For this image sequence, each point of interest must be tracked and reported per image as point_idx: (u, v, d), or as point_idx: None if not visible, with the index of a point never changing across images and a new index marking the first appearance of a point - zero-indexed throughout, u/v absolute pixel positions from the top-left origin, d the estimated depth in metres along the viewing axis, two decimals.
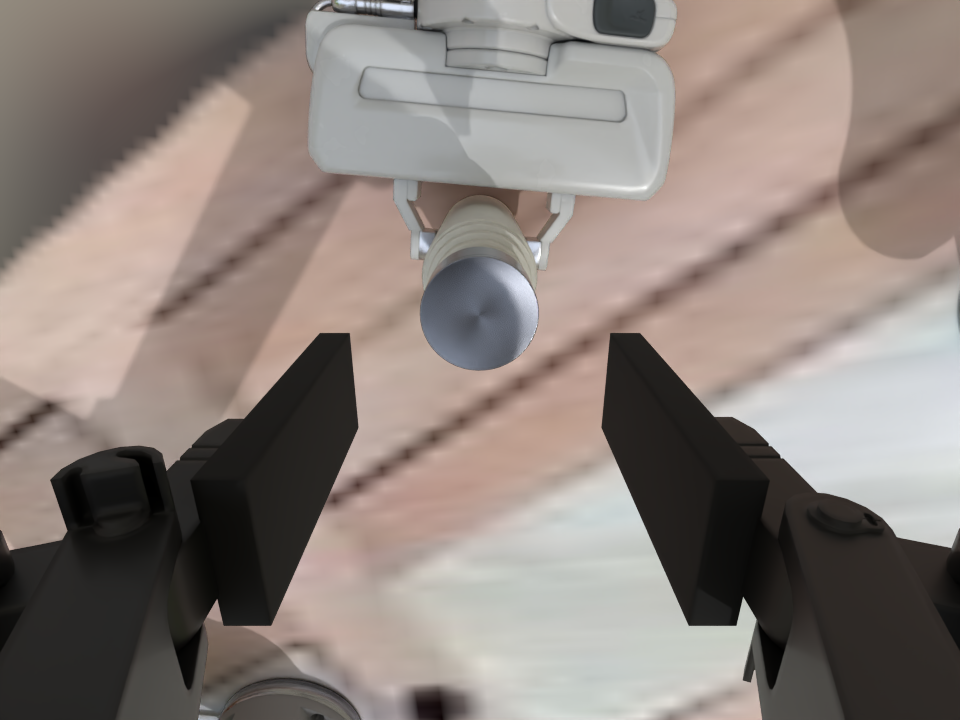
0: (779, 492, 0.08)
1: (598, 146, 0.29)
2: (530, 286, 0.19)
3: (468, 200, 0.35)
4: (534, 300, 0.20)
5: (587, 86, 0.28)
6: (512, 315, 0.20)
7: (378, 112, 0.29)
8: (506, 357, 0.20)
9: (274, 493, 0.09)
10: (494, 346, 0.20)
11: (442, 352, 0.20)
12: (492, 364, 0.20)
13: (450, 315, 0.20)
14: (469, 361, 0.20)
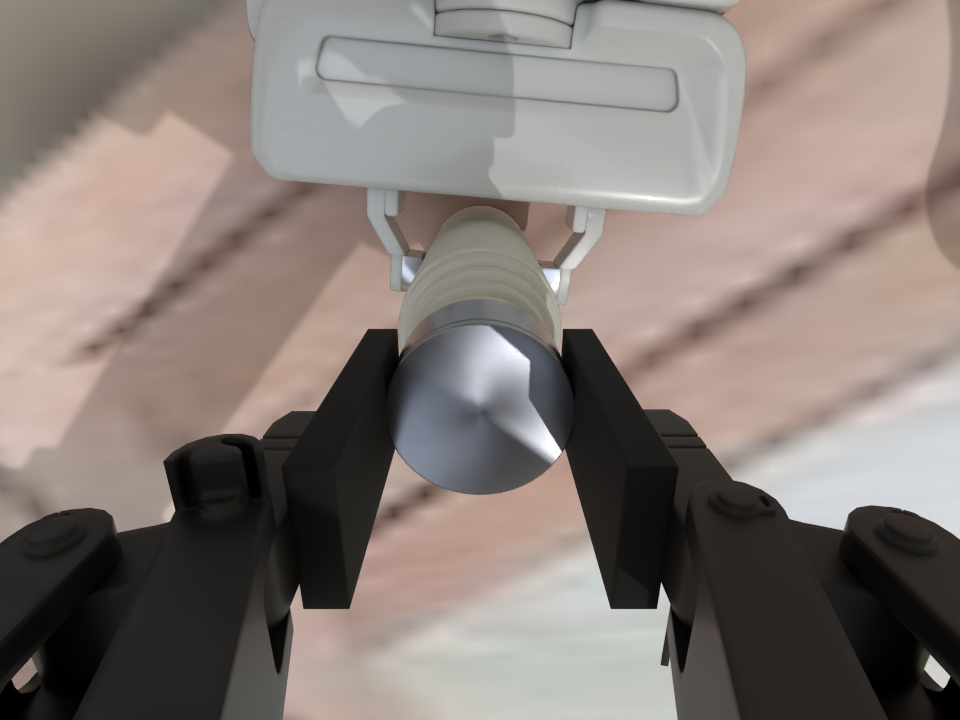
0: (697, 480, 0.09)
1: (639, 144, 0.22)
2: (563, 370, 0.12)
3: (465, 213, 0.28)
4: (569, 391, 0.12)
5: (627, 63, 0.21)
6: (533, 414, 0.12)
7: (343, 98, 0.21)
8: (522, 476, 0.13)
9: (352, 480, 0.09)
10: (503, 460, 0.13)
11: (421, 469, 0.13)
12: (500, 486, 0.13)
13: (433, 414, 0.12)
14: (464, 482, 0.13)
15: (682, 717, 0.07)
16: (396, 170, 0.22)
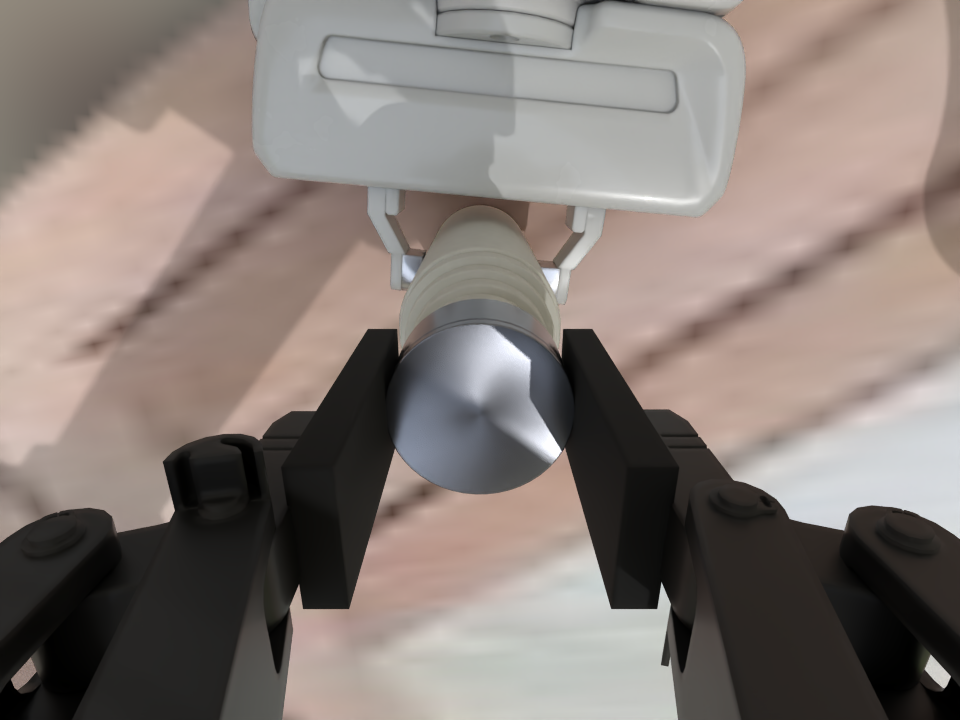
0: (697, 479, 0.09)
1: (639, 145, 0.22)
2: (411, 351, 0.12)
3: (466, 213, 0.28)
4: (432, 338, 0.12)
5: (627, 64, 0.21)
6: (466, 367, 0.12)
7: (344, 97, 0.21)
8: (541, 358, 0.12)
9: (351, 480, 0.09)
10: (526, 381, 0.12)
11: (552, 453, 0.13)
12: (558, 376, 0.12)
13: (489, 454, 0.13)
14: (560, 412, 0.12)
15: (682, 717, 0.07)
16: (397, 169, 0.22)
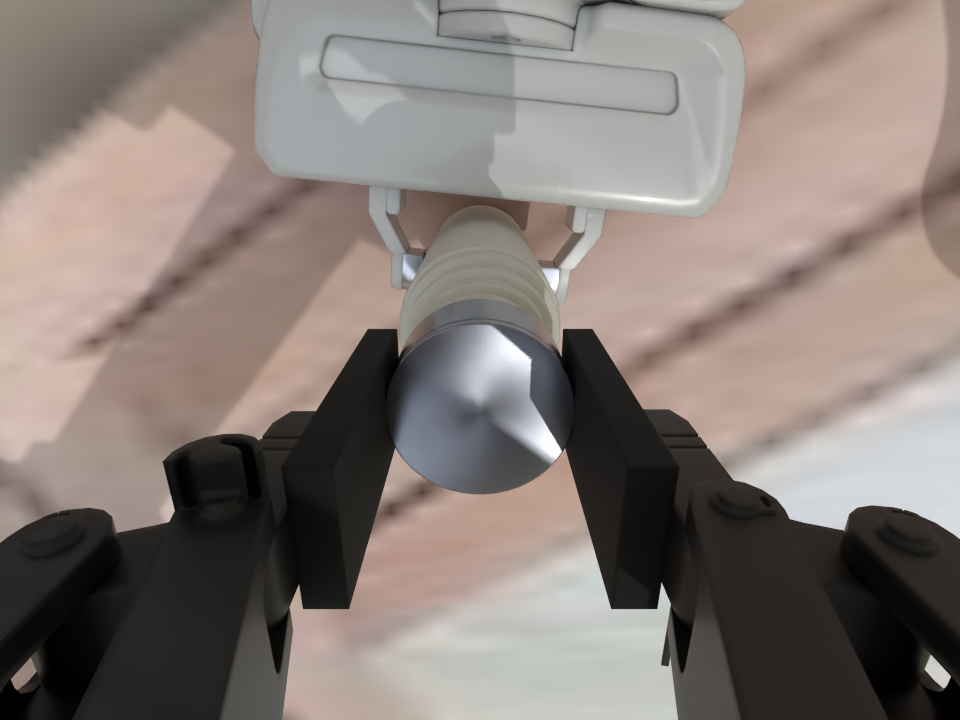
0: (697, 480, 0.09)
1: (639, 146, 0.22)
2: (432, 480, 0.13)
3: (466, 212, 0.28)
4: (416, 466, 0.13)
5: (628, 65, 0.21)
6: (433, 436, 0.12)
7: (346, 97, 0.21)
8: (405, 374, 0.12)
9: (351, 481, 0.09)
10: (433, 381, 0.12)
11: (507, 335, 0.12)
12: (419, 352, 0.12)
13: (522, 396, 0.12)
14: (457, 341, 0.12)
15: (682, 717, 0.07)
16: (398, 169, 0.22)
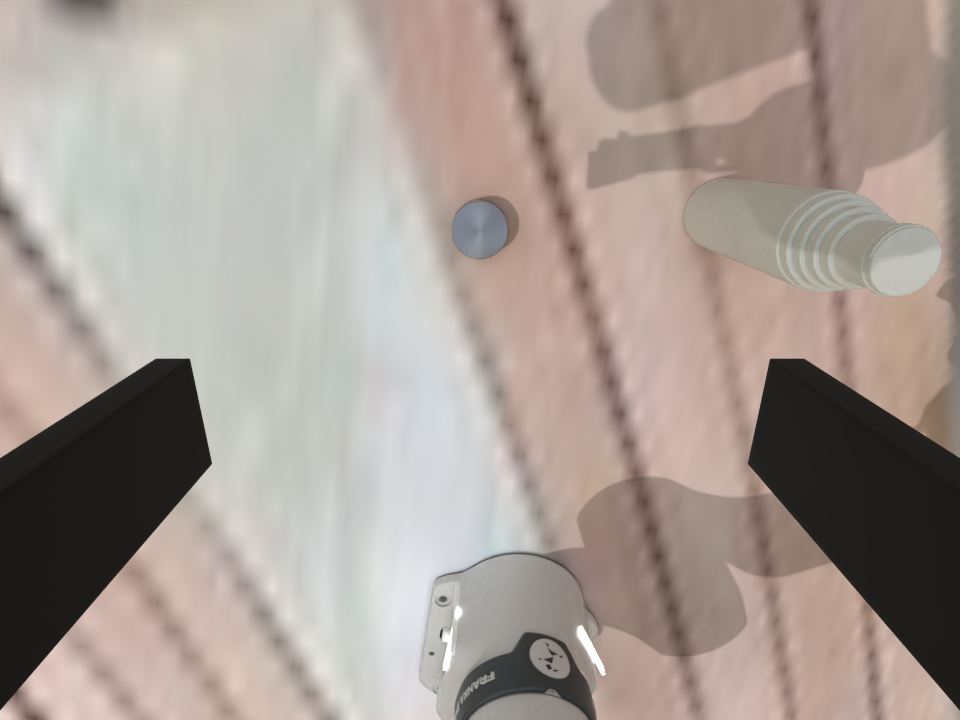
0: None
1: None
2: (482, 202, 0.41)
3: None
4: (489, 204, 0.41)
5: None
6: (488, 217, 0.41)
7: None
8: (504, 232, 0.42)
9: None
10: (496, 234, 0.42)
11: (484, 256, 0.42)
12: (503, 240, 0.42)
13: (471, 241, 0.42)
14: (495, 248, 0.42)
15: None
16: None
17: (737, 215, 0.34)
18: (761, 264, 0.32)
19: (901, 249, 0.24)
